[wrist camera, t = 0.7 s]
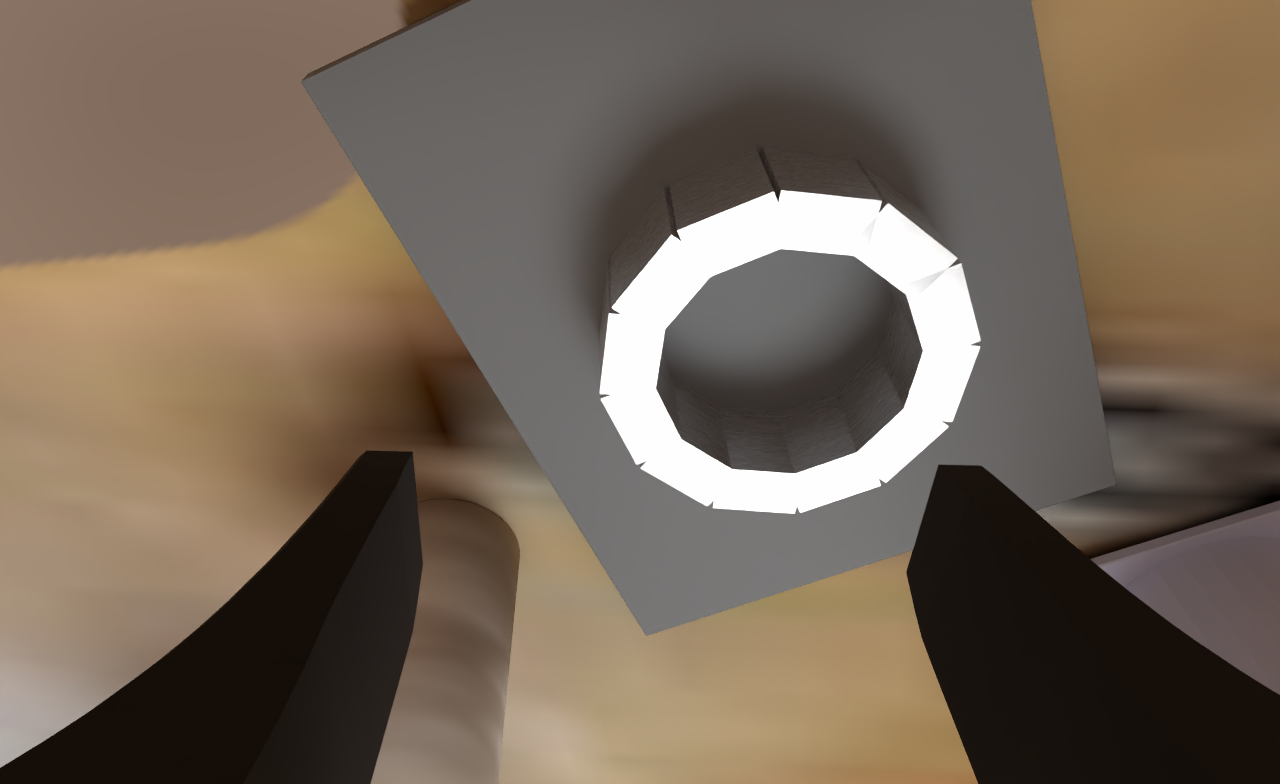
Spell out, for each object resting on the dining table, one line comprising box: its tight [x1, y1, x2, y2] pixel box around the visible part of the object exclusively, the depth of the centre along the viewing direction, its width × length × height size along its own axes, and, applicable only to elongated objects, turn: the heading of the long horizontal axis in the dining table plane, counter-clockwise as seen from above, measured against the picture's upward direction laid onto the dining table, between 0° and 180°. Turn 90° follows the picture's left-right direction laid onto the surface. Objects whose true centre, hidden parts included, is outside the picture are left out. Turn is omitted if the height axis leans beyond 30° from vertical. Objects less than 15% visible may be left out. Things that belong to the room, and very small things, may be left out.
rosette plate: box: [301, 0, 1116, 636], centre depth 23 cm, size 18×14×1 cm
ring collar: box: [599, 146, 981, 514], centre depth 21 cm, size 8×8×2 cm
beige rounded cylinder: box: [371, 499, 520, 784], centre depth 24 cm, size 4×4×8 cm
